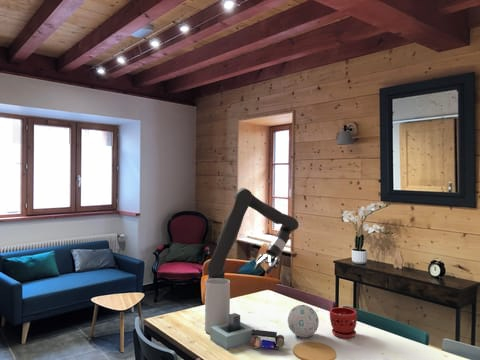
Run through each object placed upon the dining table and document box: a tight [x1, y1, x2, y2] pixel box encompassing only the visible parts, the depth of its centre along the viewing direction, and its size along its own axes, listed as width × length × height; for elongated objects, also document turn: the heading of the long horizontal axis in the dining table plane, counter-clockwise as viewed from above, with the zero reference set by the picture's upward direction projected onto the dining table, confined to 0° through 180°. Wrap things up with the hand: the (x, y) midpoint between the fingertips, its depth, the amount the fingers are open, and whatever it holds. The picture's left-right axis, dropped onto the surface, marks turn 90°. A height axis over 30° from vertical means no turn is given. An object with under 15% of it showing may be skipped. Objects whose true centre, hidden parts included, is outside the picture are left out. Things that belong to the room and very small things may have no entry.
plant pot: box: [329, 306, 358, 339], centre depth 189 cm, size 13×13×12 cm
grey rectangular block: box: [228, 312, 241, 333], centre depth 180 cm, size 6×4×11 cm, turn 131°
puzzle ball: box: [287, 304, 320, 338], centre depth 186 cm, size 15×15×15 cm
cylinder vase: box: [204, 278, 231, 334], centre depth 193 cm, size 12×12×25 cm
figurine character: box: [250, 329, 285, 351], centre depth 172 cm, size 7×8×15 cm
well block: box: [209, 321, 256, 351], centre depth 180 cm, size 14×16×6 cm
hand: (260, 271), depth 199 cm, fingers open, 8 cm apart
